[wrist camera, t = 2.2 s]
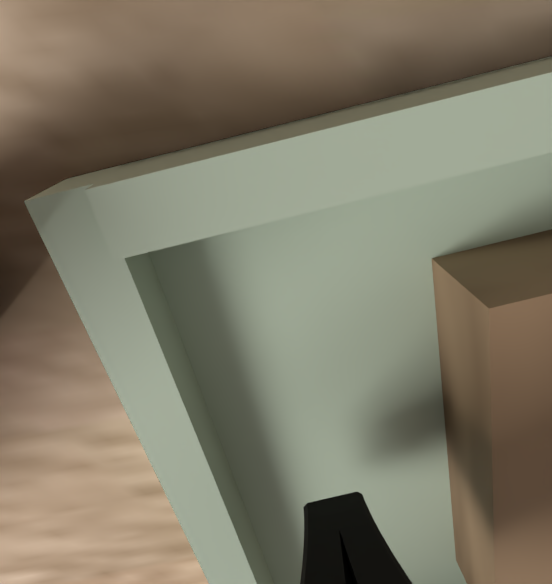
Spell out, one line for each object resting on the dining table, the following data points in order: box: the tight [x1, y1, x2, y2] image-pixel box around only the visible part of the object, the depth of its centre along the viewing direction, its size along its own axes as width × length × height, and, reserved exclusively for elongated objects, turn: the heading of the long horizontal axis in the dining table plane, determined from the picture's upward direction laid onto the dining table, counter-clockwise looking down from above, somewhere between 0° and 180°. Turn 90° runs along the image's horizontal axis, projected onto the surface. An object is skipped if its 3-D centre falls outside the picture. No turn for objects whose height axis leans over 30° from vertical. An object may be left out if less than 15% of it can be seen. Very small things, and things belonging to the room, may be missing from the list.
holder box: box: [24, 56, 552, 584], centre depth 12 cm, size 15×18×2 cm
